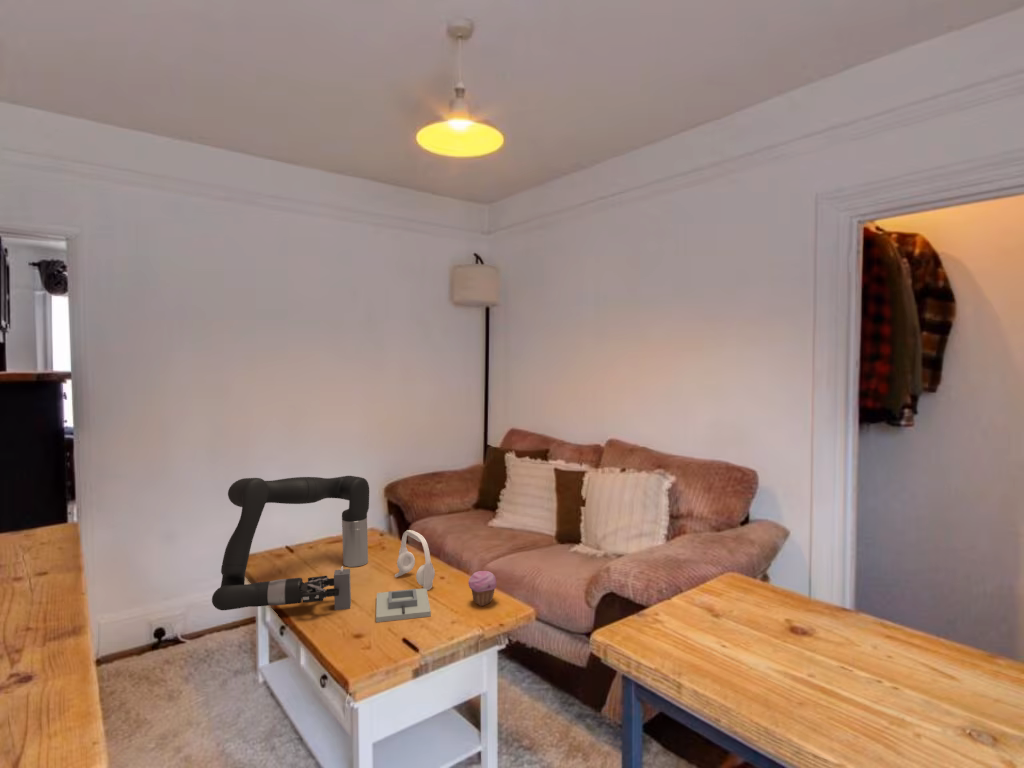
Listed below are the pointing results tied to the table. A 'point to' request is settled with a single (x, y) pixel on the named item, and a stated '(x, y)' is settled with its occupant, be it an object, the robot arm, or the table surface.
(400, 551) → the headset
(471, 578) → the cupcake
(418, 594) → the charging dock
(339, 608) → the charger block
